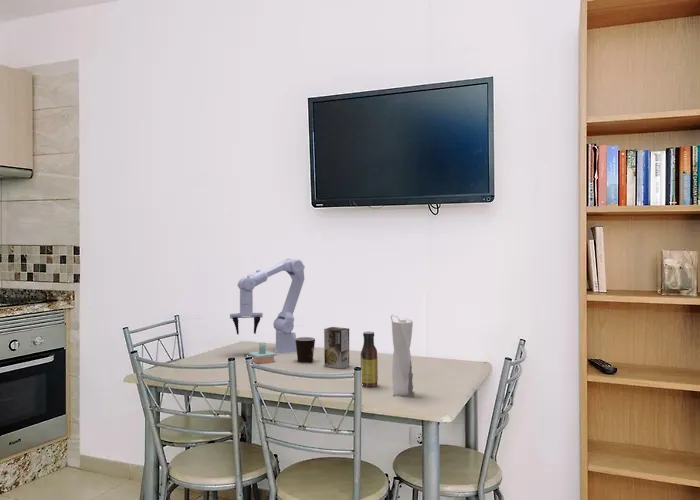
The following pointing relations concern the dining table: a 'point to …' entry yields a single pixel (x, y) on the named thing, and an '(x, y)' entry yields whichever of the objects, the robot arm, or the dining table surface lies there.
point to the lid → (262, 352)
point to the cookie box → (336, 347)
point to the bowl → (263, 360)
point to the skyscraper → (402, 358)
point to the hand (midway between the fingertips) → (246, 333)
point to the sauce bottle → (369, 361)
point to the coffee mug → (305, 349)
